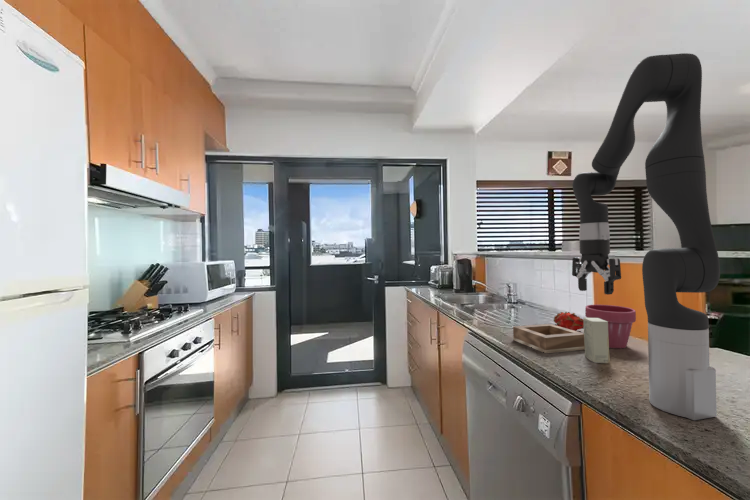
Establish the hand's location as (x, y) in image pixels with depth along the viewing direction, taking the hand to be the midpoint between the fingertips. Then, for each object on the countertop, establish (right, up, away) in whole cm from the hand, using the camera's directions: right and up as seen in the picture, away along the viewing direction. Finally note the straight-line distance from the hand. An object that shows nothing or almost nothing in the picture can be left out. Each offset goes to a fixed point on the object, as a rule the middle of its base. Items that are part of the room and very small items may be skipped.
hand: (595, 292), depth 96 cm
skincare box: (0, -20, 0) cm, 20 cm away
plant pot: (+15, -20, +15) cm, 29 cm away
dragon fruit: (+13, -20, +34) cm, 41 cm away
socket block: (-5, -20, +16) cm, 26 cm away
